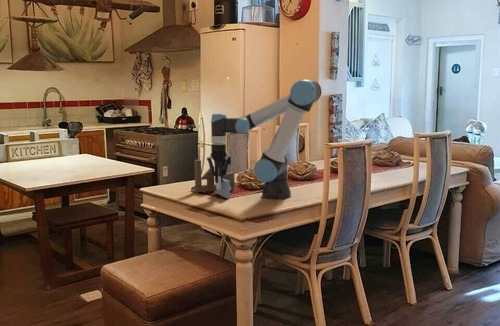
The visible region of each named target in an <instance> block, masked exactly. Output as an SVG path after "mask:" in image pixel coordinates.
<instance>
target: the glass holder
mask: <svg viewBox="0 0 500 326" xmlns="http://www.w3.org/2000/svg"><path fill="white" fill-rule="evenodd" d="M224 163H225V159H224V160H223V167H224ZM230 172H232V158H231V159H230V160H229V163H228V167H227V172H226V173H230ZM218 173H219V164H218Z"/></svg>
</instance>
